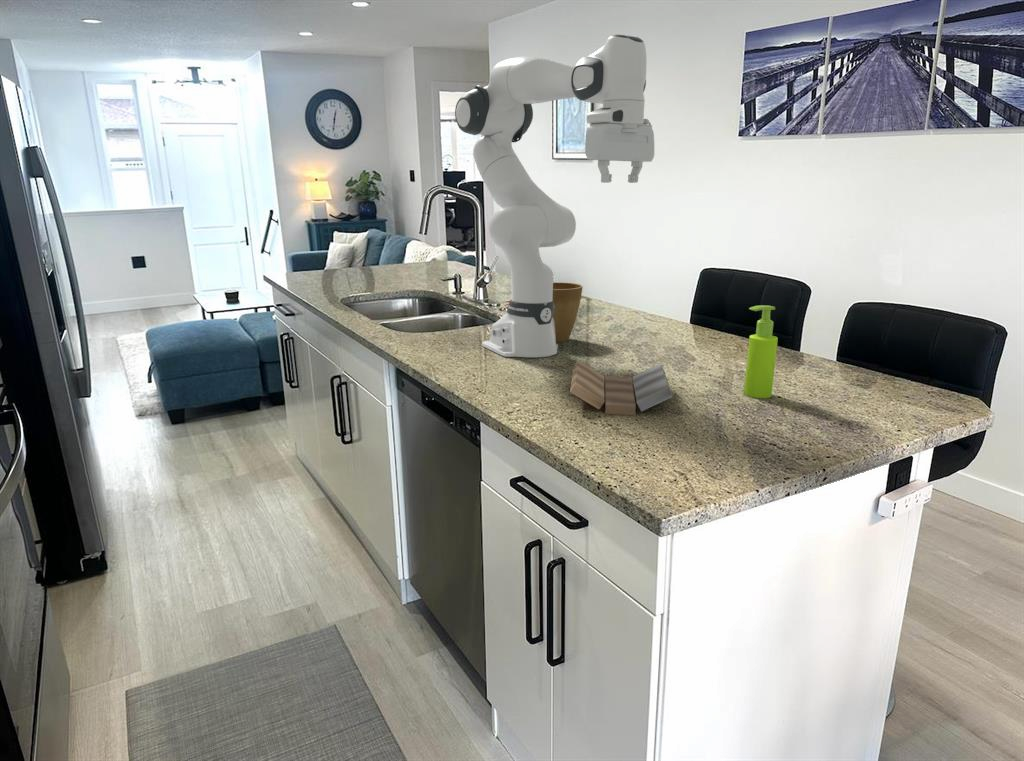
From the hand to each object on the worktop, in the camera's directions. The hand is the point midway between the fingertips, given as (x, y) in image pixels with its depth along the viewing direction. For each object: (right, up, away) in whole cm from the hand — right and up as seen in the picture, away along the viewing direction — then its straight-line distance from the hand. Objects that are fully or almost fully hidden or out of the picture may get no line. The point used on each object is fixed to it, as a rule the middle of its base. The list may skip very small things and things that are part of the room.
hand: (619, 182), depth 160 cm
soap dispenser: (+30, -47, +1) cm, 56 cm away
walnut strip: (-1, -48, -3) cm, 48 cm away
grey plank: (+7, -46, -4) cm, 47 cm away
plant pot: (-11, -32, +53) cm, 63 cm away
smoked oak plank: (-8, -45, -3) cm, 46 cm away
